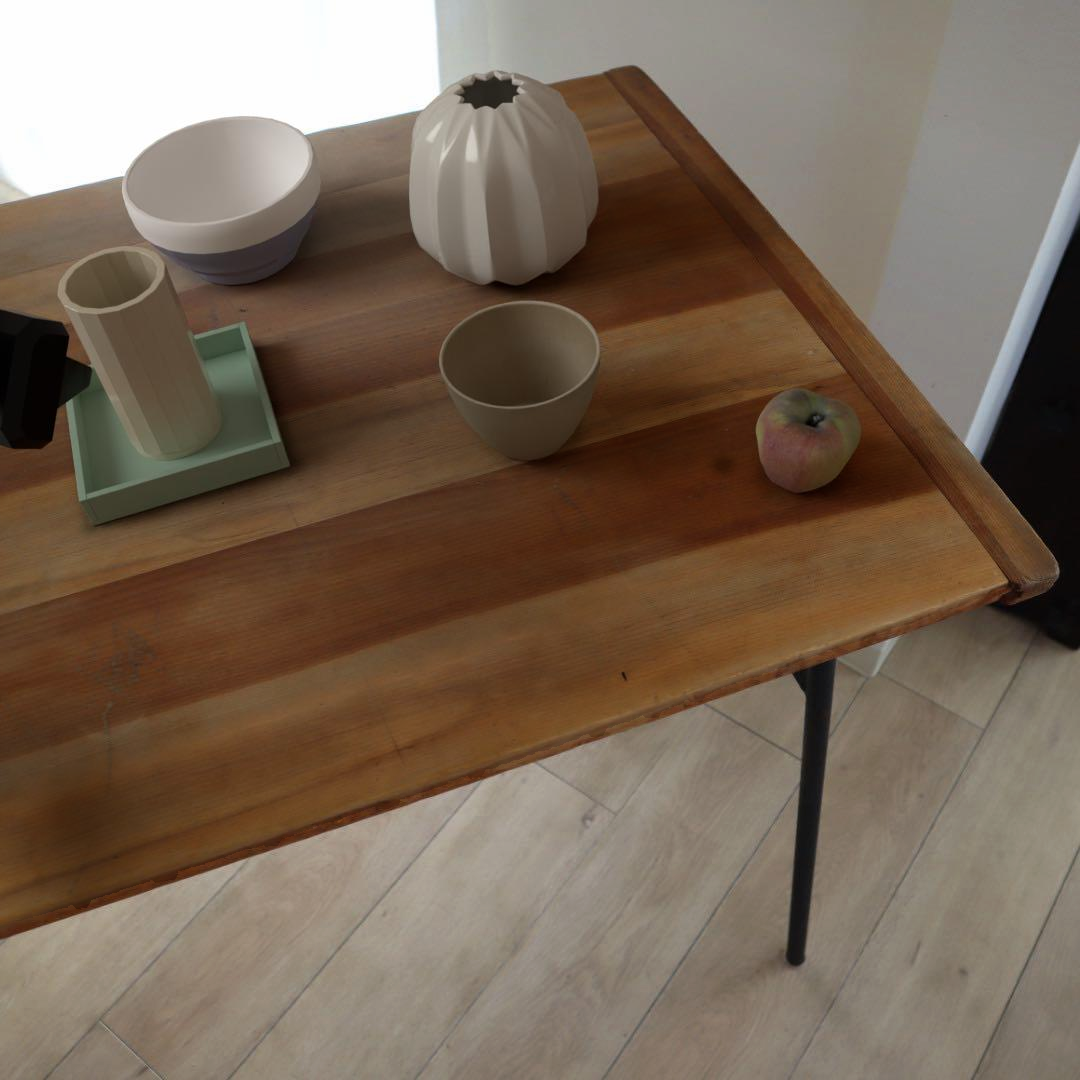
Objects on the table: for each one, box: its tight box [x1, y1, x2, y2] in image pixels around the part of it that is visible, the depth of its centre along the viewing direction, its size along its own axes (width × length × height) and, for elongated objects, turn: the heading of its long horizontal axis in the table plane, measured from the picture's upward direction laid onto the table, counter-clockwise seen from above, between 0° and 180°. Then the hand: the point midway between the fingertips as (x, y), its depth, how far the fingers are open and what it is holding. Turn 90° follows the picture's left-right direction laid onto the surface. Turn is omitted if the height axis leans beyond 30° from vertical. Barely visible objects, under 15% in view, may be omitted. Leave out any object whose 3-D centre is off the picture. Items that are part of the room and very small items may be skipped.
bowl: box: [121, 115, 322, 286], centre depth 90 cm, size 14×14×8 cm
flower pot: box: [438, 300, 602, 461], centre depth 75 cm, size 10×10×7 cm
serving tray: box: [65, 320, 291, 527], centre depth 80 cm, size 13×13×2 cm
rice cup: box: [57, 245, 223, 460], centre depth 75 cm, size 6×6×12 cm
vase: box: [408, 69, 599, 287], centre depth 85 cm, size 14×14×13 cm
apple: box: [755, 387, 862, 494], centre depth 72 cm, size 6×8×6 cm
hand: (22, 358), depth 66 cm, fingers open, 9 cm apart
